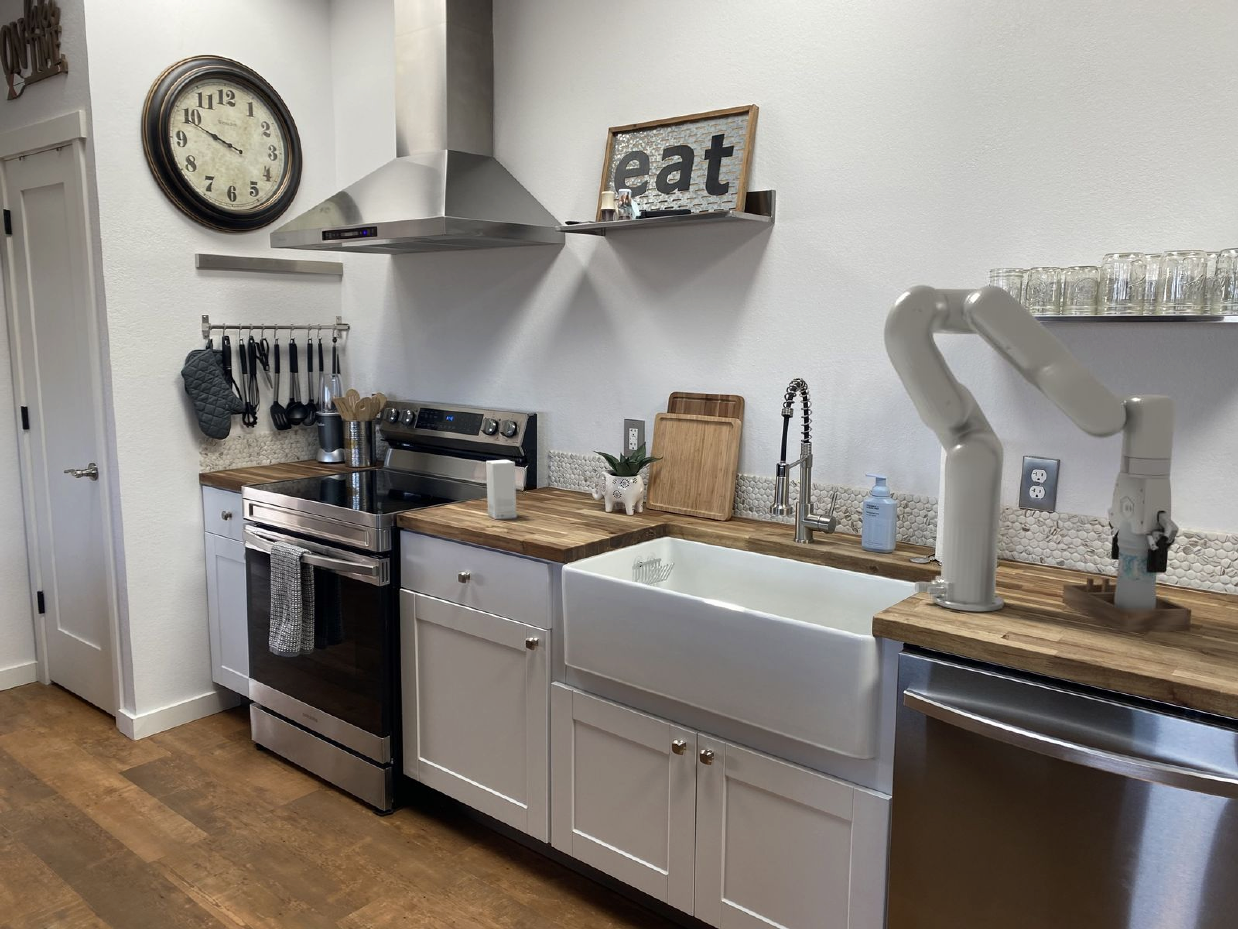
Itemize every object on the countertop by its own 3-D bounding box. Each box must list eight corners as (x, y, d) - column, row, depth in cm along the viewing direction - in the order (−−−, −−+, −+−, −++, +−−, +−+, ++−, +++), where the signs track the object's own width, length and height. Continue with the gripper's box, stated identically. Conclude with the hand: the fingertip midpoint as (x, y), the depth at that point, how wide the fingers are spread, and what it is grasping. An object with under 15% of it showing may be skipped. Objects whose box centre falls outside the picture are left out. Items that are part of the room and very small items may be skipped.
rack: (1122, 631, 157) (1124, 600, 156) (1062, 602, 175) (1064, 574, 174) (1189, 630, 158) (1192, 599, 157) (1123, 601, 176) (1125, 573, 175)
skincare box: (516, 518, 257) (516, 462, 256) (493, 520, 255) (492, 463, 253) (508, 513, 265) (508, 458, 263) (485, 515, 263) (485, 459, 261)
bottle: (1116, 608, 168) (1124, 497, 165) (1159, 614, 164) (1168, 501, 161) (1107, 616, 163) (1116, 502, 160) (1151, 623, 158) (1160, 506, 156)
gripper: (1094, 461, 168) (1087, 555, 170) (1157, 474, 151) (1149, 578, 153) (1134, 461, 169) (1127, 554, 171) (1201, 474, 152) (1192, 577, 154)
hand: (1137, 565), depth 162 cm, fingers open, 9 cm apart
